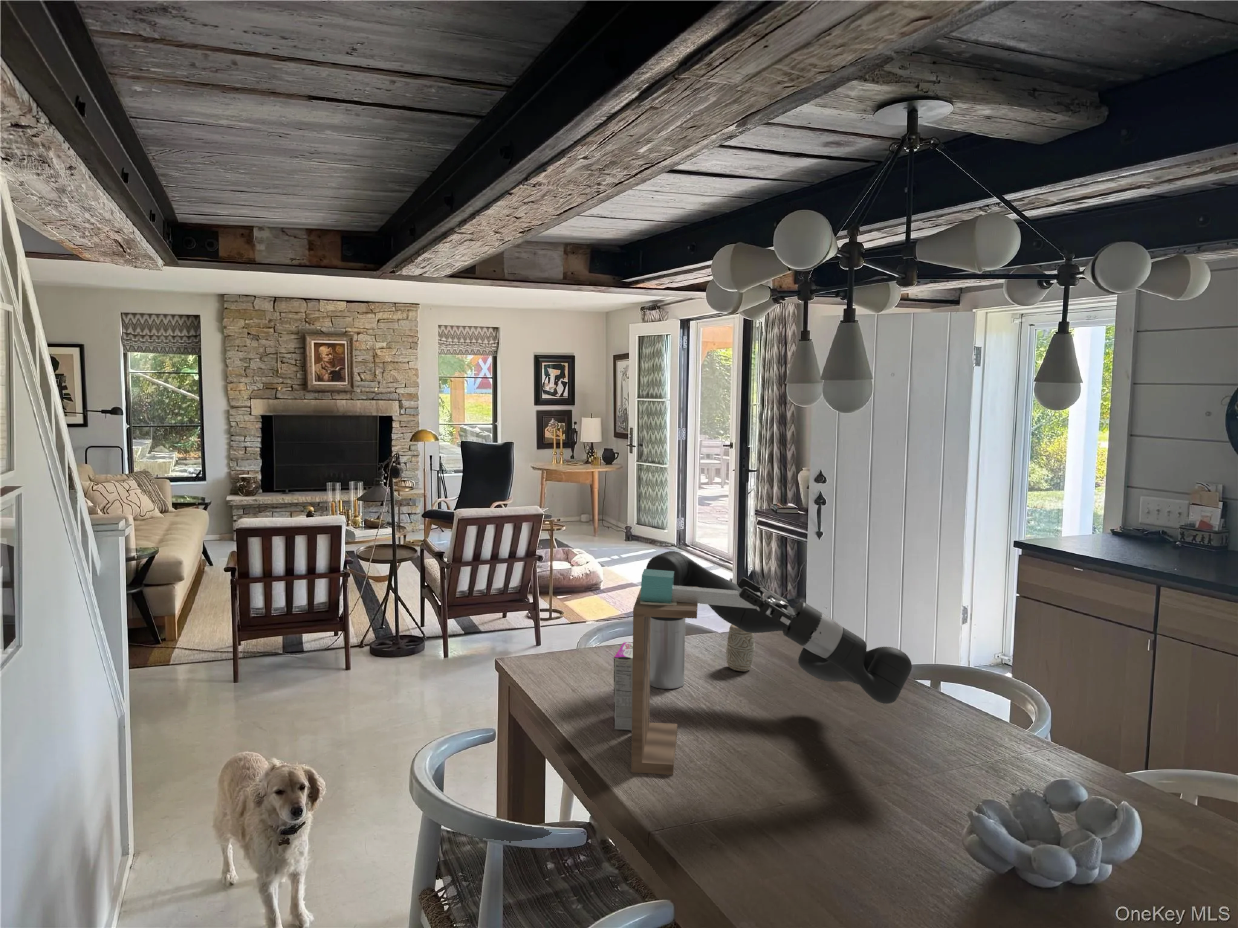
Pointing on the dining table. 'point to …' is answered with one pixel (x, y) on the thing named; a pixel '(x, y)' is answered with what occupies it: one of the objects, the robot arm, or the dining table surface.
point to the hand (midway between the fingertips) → (740, 586)
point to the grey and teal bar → (685, 591)
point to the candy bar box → (623, 687)
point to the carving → (740, 649)
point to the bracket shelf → (649, 739)
